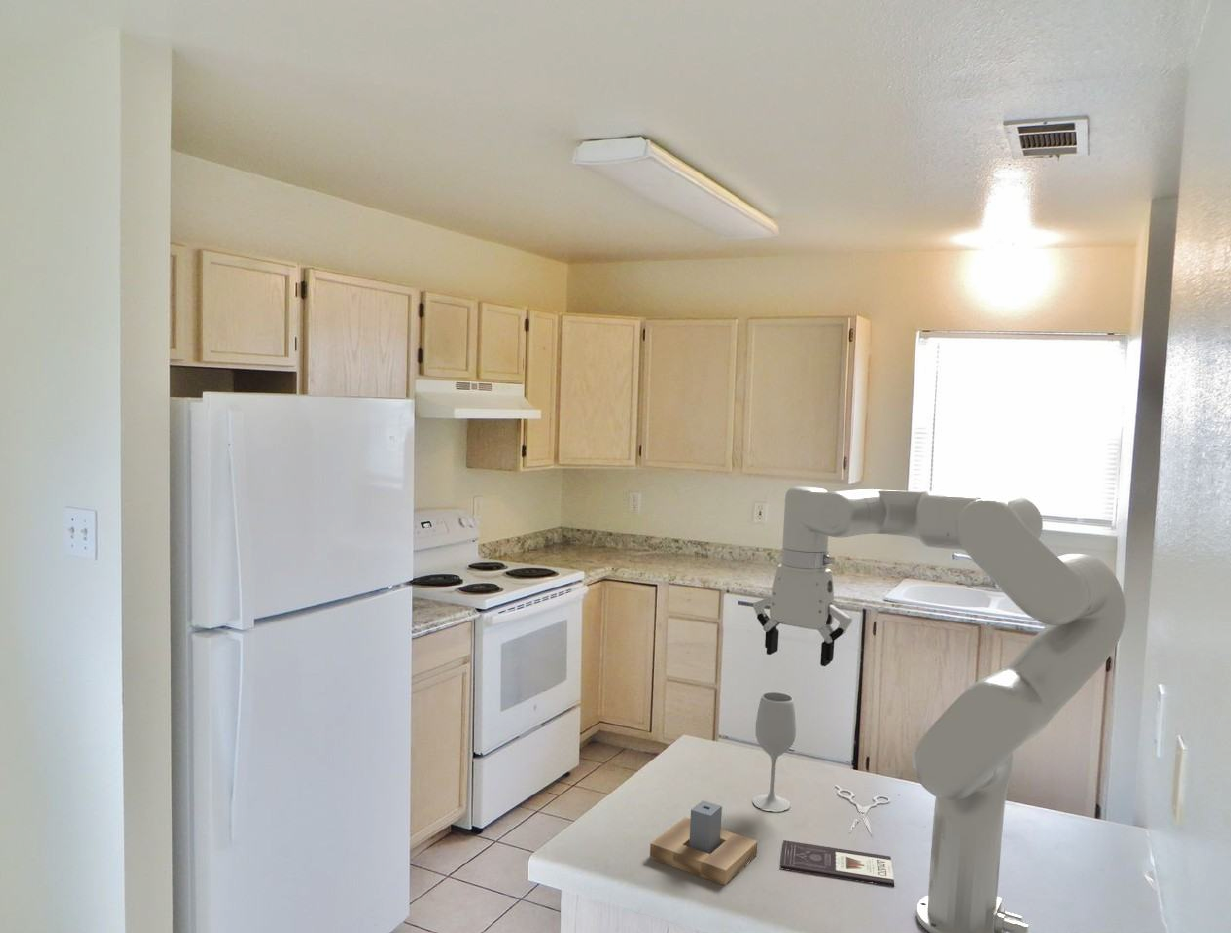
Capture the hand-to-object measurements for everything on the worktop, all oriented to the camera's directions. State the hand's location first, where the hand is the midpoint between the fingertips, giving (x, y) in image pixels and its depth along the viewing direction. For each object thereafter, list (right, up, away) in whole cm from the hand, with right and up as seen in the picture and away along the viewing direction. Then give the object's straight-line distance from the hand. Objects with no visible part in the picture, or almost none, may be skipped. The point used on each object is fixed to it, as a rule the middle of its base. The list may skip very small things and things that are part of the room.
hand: (798, 658), depth 152 cm
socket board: (-16, -33, -2) cm, 37 cm away
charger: (-16, -33, -2) cm, 37 cm away
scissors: (+16, -34, +17) cm, 41 cm away
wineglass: (-1, -32, +19) cm, 37 cm away
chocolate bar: (+6, -35, -3) cm, 35 cm away
